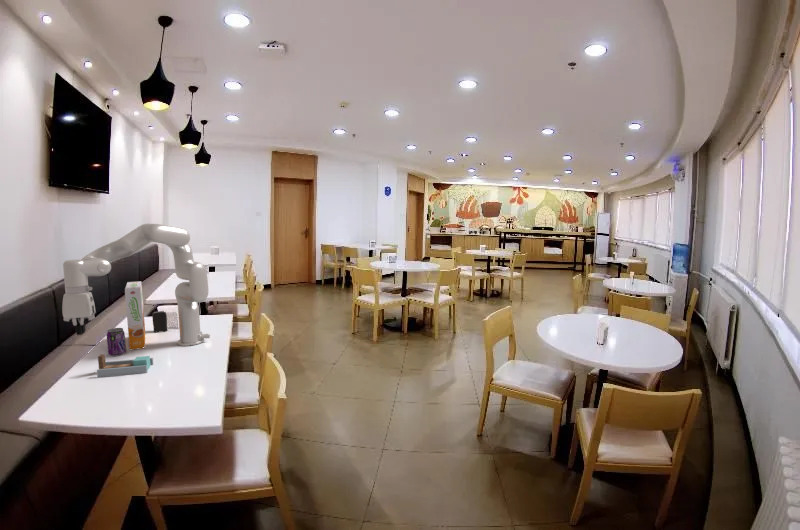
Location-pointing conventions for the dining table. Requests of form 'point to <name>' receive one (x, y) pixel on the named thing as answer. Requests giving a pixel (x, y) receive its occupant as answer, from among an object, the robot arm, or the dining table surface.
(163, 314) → the battery
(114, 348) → the beverage can
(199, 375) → the dining table surface
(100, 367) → the plunger rod
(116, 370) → the grey shallow tray
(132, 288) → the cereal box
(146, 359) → the block
